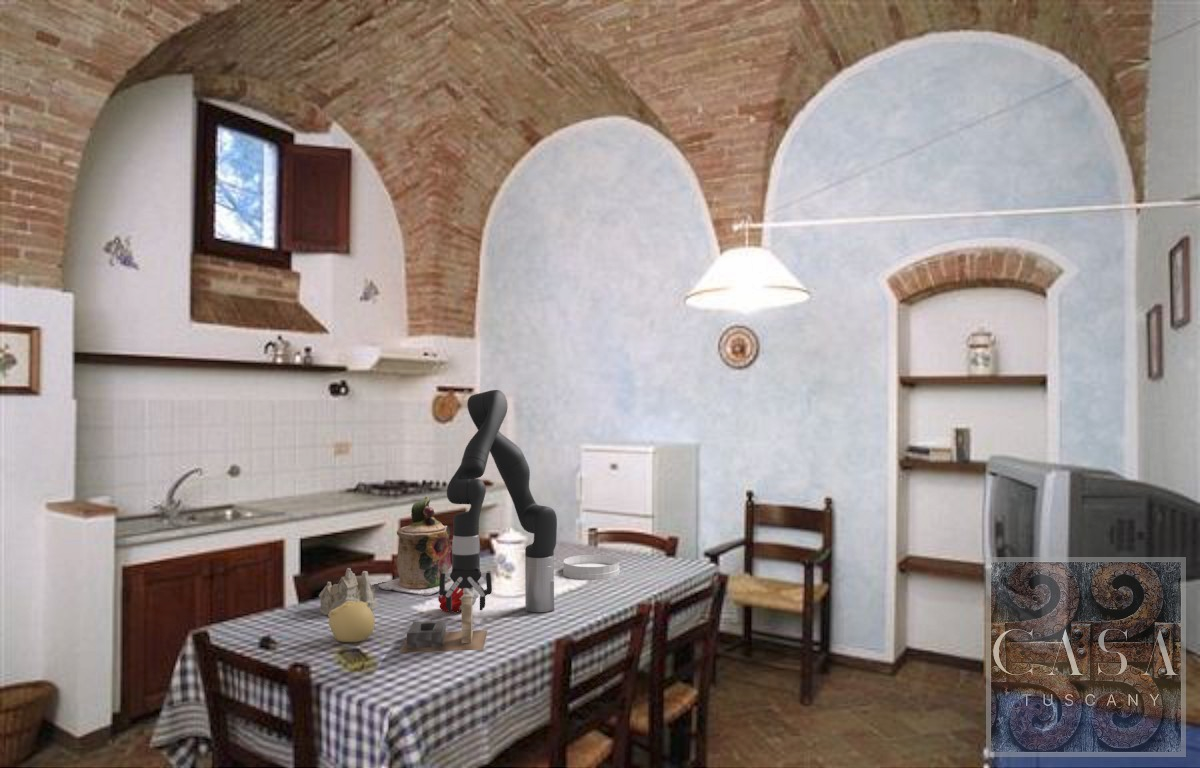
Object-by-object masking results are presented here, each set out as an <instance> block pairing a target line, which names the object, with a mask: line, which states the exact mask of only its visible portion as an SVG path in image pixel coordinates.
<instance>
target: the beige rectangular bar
mask: <svg viewBox="0 0 1200 768" xmlns="http://www.w3.org/2000/svg"><path fill="white" fill-rule="evenodd" d="M473 614H474V613H473V606H472V594H463V597H462V610H461V631H462V643H471V641H472V637H473V631H474V630H473V629H474V628H473V626H474V625H473V624H474V623H473V622H474V621H473V620H474V619H473Z"/></svg>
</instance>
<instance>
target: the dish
mask: <svg viewBox="0 0 1200 768" xmlns="http://www.w3.org/2000/svg"><path fill="white" fill-rule="evenodd" d="M620 571H621V570H620V560H619V558H618V557H614V556H611V555H610V556H609V555H603V554H582V555H581V554H580V555H574V556H569V557H566V558H565V559H563V567H562V574H563V576H564V577H567V578H569V577H570V578H571V579H575V580H581V581H582V580H584V581H585V580H588V581H592V580H593V581H594V580H595V581H596V580H597V581H598V580H605V579H611V578H615V577H616V576H619V574H620Z"/></svg>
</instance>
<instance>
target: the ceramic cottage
mask: <svg viewBox="0 0 1200 768" xmlns="http://www.w3.org/2000/svg"><path fill="white" fill-rule="evenodd" d="M376 590H377V589H376V588H375V587H373V585H372V584H371V583H370V577H369V572H368V571H366V570H363V571H362V572H361V576H356V573H353V571H352V569H351V567H347V568H346V571H345V575H344V576H341V577H340V580H339V581H338V583H337V584H336V583H334V584H333V585H332V582H331V581H327V582H326V585H325V586H324V587H323V589H322V590H321V592H320V593H319V594H318V598H320V606H319V608H318V609H319V612H320V613H321V614H323V615H324V616H328V617H329V615H328V614H329V612H330V611H331V610H333V609H335V608H337V607H339V606H341V605H342V604H343V603H345V602H346V601H355V602H358V601H362V602H365V603H367V606H368V607H369V608H370V609H371V611H372V612H373V611H375V610H377V609H378V608H379V605H378V600H377V599H376V594H375V592H376Z"/></svg>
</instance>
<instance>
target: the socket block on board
mask: <svg viewBox="0 0 1200 768" xmlns="http://www.w3.org/2000/svg"><path fill="white" fill-rule="evenodd" d="M446 622H447V621H446V620H433V621H432V620H430V621H413V622H412V623H411V625H410V627H409V629H408V631H407V633H406V639H405V641H404V643H402V645H401V646H402V647H401V648H400V650H399V651H398V653H422V652H423V653H424V652H448V651H449V652H451V651H453V652H454V651H481V650H482V651H483V650H484V648H485V645H486V644H485V643H486V640H487V635H488V630H487V629H486V630H473V637H472V641H471V643H462V630H459V631H446V628H447V627H446V626H447V625H446V624H447V623H446Z"/></svg>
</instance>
